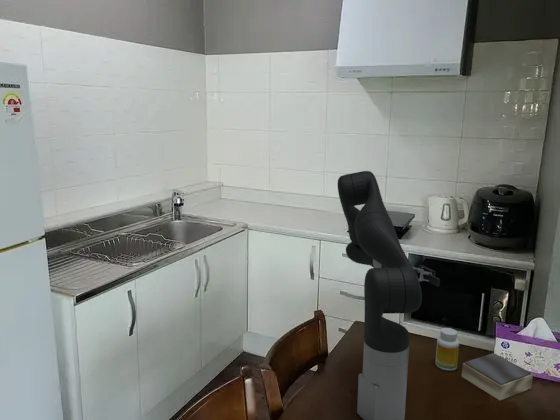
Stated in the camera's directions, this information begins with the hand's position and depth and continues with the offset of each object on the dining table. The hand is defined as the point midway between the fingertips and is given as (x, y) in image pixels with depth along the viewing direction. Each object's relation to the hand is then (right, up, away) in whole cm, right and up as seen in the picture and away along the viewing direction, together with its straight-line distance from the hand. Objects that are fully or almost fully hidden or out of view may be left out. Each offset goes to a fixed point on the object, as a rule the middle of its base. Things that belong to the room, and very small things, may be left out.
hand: (426, 285), depth 124 cm
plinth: (+13, -22, -13) cm, 28 cm away
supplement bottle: (+3, -20, -6) cm, 21 cm away
